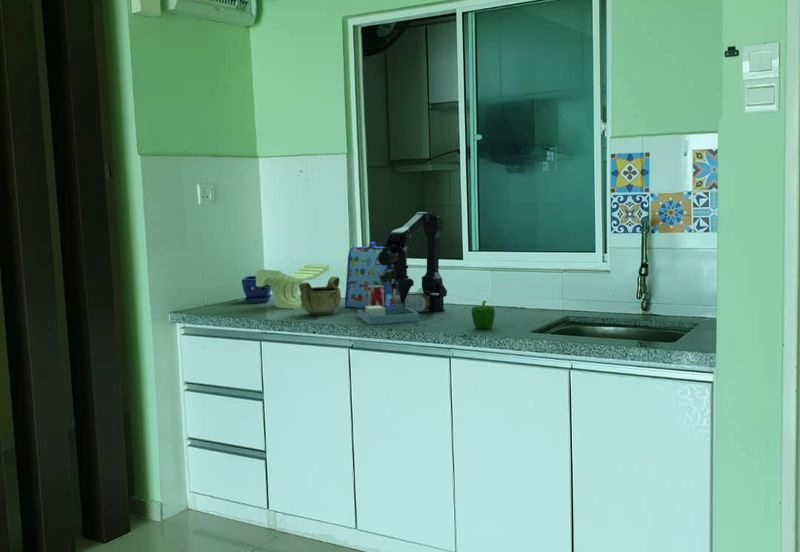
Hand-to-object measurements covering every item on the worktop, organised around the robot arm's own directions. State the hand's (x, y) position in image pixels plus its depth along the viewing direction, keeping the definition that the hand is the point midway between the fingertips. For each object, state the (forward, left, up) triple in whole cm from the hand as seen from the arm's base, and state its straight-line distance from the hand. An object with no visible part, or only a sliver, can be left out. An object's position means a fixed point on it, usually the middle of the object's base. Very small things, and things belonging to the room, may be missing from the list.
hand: (400, 302), depth 328 cm
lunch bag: (+3, -39, -7) cm, 40 cm away
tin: (-9, -17, -7) cm, 20 cm away
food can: (0, 0, -2) cm, 2 cm away
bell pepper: (-22, +33, -7) cm, 41 cm away
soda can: (+7, -16, -7) cm, 19 cm away
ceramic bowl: (+28, -26, -7) cm, 39 cm away
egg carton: (+11, 0, -6) cm, 12 cm away
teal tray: (+6, 0, -7) cm, 9 cm away
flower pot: (+49, -80, -7) cm, 94 cm away
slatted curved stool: (+35, -58, -7) cm, 68 cm away
